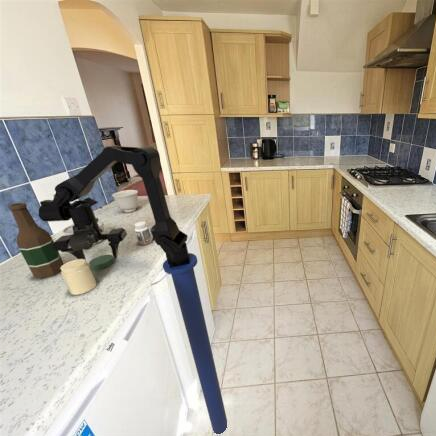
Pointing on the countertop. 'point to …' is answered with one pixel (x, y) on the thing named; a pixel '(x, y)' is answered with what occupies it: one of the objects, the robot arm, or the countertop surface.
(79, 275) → the jam jar
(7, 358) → the countertop surface
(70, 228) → the ramekin
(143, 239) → the pill bottle
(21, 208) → the beer bottle
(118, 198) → the teacup
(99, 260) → the jar lid
